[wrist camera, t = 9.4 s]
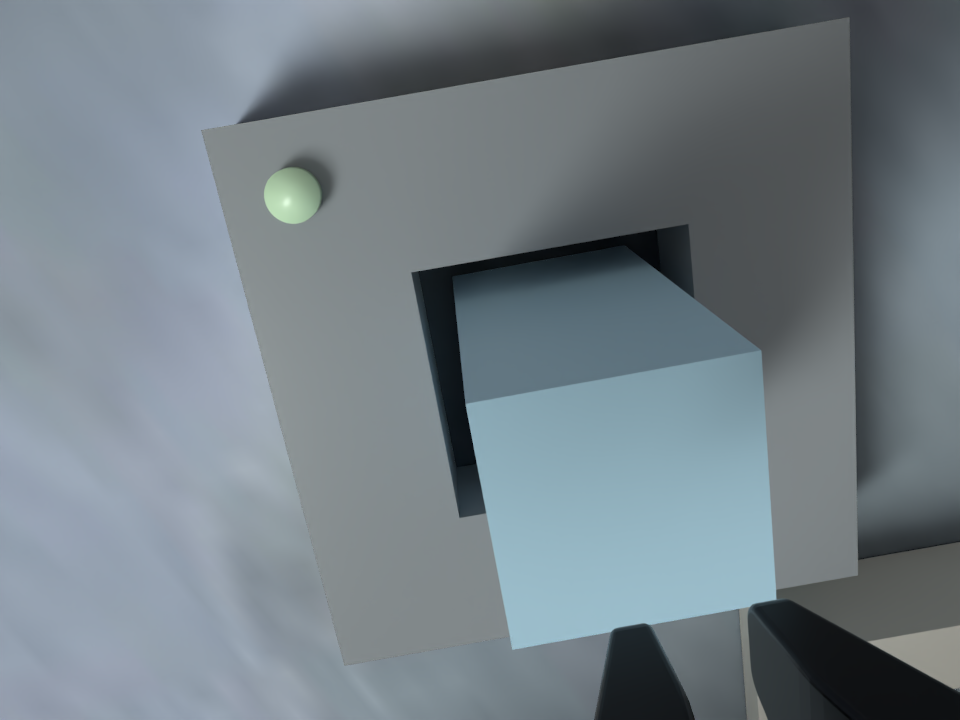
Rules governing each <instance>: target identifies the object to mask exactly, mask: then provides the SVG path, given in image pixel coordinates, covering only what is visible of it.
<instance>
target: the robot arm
mask: <svg viewBox="0 0 960 720" xmlns="http://www.w3.org/2000/svg"><path fill="white" fill-rule="evenodd" d="M747 621H748V636H749V650H750V664H751V673H752V678H753V682H754V686H755V689H756V692H757V694H758V697H759V699H760V702H761V704H762V707H763V709H764V712H765V714H766V716H767V719H768V720H960V692H958V691H956V690H954V689H953V688H951V687H949V686H947V685H945V684H944V683H942V682H940V681H938V680H936V679H934V678H933V677H931V676H929V675H927V674H925V673H923V672H922V671H920V670H918V669H916V668H914V667H913V666H911V665H909V664H907V663H905V662H903V661H902V660H900V659H898V658H896V657H894V656H893V655H891V654H889V653H887V652H885V651H883V650H882V649H880V648H878V647H876V646H874V645H873V644H871V643H869V642H867V641H865V640H863V639H862V638H860V637H858V636H856V635H854V634H853V633H851V632H849V631H847V630H845V629H843V628H842V627H840V626H838V625H836V624H834V623H833V622H831V621H829V620H827V619H825V618H823V617H822V616H820V615H818V614H816V613H814V612H812V611H811V610H809V609H807V608H805V607H803V606H802V605H800V604H798V603H796V602H794V601H792V600H790V599H777V600H771V601H766V602H760V603H755V604H752V605H751V606H750V608H749V610H748V614H747ZM594 720H695V718H694V715H693V712H692V709H691V706H690V703H689V700H688V698H687V696H686V694H685V692H684V689H683V687H682V685H681V683H680V681H679V679H678V677H677V675H676V673H675V671H674V669H673V667H672V666H671V664H670V662H669V660H668V658H667V656H666V654H665V652H664V650H663V648H662V646H661V644H660V642H659V640H658V638H657V636H656V634H655V632H654V630H653V628H652V627H651V626H650V625H648V624H646V623H641V624H635V625H630V626H624V627H618V628H615V629H613V630H612V632H611V634H610V638H609V644H608V649H607V654H606V660H605V665H604V670H603V676H602V681H601V687H600V692H599V697H598V703H597V708H596V713H595V719H594Z"/></svg>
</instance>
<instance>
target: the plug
mask: <svg viewBox="0 0 960 720" xmlns="http://www.w3.org/2000/svg"><path fill="white" fill-rule="evenodd" d="M452 278H453V288H454V298H455V307H456V317H457V327H458V337H459V346H460V356H461V366H462V375H463V385H464V395H465V404H466V409H467V415H468V420H469V425H470V430H471V436H472V441H473V446H474V451H475V456H476V462H477V467H478V472H479V477H480V483H481V488H482V493H483V498H484V504H485V509H486V514H487V519H488V524H489V530H490V535H491V540H492V545H493V551H494V556H495V561H496V566H497V571H498V577H499V582H500V587H501V592H502V598H503V603H504V608H505V613H506V618H507V624H508V629H509V634H510V639H511V645H512V650H513V649H519V648H525V647H530V646H536V645H541V644H547V643H552V642H558V641H563V640H569V639H574V638H580V637H586V636H591V635H597V634H602V633H608V632H612V630H613V629H615V628H618V627H624V626H630V625H635V624H641V623H646V624H648V625H652V624H658V623H663V622H669V621H674V620H680V619H685V618H691V617H696V616H702V615H707V614H713V613H719V612H724V611H730V610H735V609H741V608H746V607H750V606H751V605H752V604H755V603H760V602H766V601H771V600H777V598H776V582H775V566H774V549H773V533H772V516H771V500H770V484H769V467H768V451H767V434H766V418H765V402H764V385H763V369H762V352H761V350H760V349H759V348H758V347H756V346H755V345H754V344H752V343H751V342H750V341H749V340H747V339H746V338H745V337H743V336H742V335H741V334H739V333H738V332H737V331H735V330H734V329H733V328H732V327H730V326H729V325H728V324H726V323H725V322H724V321H722V320H721V319H720V318H719V317H717V316H716V315H715V314H713V313H712V312H711V311H709V310H708V309H707V308H706V307H704V306H703V305H702V304H700V303H699V302H698V301H696V300H695V299H694V298H693V297H691V296H690V295H689V294H687V293H686V292H685V291H683V290H682V289H681V288H679V287H678V286H677V285H676V284H674V283H673V282H672V281H670V280H669V279H668V278H666V277H665V276H664V275H663V274H661V273H660V272H659V271H657V270H656V269H655V268H653V267H652V266H651V265H650V264H648V263H647V262H646V261H644V260H643V259H642V258H640V257H639V256H638V255H637V254H635V253H634V252H633V251H631V250H630V249H629V248H627V247H626V246H625V245H623V246H618V247H612V248H607V249H601V250H596V251H590V252H584V253H579V254H573V255H568V256H562V257H557V258H551V259H546V260H540V261H535V262H529V263H524V264H518V265H513V266H507V267H502V268H496V269H491V270H485V271H480V272H474V273H469V274H463V275H458V276H452Z"/></svg>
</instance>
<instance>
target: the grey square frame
mask: <svg viewBox="0 0 960 720" xmlns="http://www.w3.org/2000/svg"><path fill="white" fill-rule="evenodd" d="M776 598H777V599H790V600H792V601H794V602H796V603H798V604H800V605H802V606H803V607H805V608H807V609H809V610H811V611H812V612H814V613H816V614H818V615H820V616H822V617H823V618H825V619H827V620H829V621H831V622H833V623H834V624H836V625H838V626H840V627H842V628H843V629H845V630H847V631H849V632H851V633H853V634H854V635H856V636H858V637H860V638H862V639H863V640H865V641H867V642H869V643H871V644H873V645H874V646H876V647H878V648H880V649H882V650H883V651H885V652H887V653H889V654H891V655H893V656H894V657H896V658H898V659H900V660H902V661H903V662H905V663H907V664H909V665H911V666H913V667H914V668H916V669H918V670H920V671H922V672H923V673H925V674H927V675H929V676H931V677H933V678H934V679H936V680H938V681H940V682H942V683H944V684H945V685H947V686H949V687H951V688H953V689H956V688H960V542H957V543H951V544H946V545H940V546H934V547H928V548H923V549H917V550H911V551H906V552H900V553H894V554H889V555H883V556H877V557H872V558H866V559H860V560H858V575H857V576H851V577H846V578H840V579H834V580H829V581H823V582H817V583H812V584H806V585H800V586H795V587H789V588H783V589H778V590H776ZM749 608H750V607H746V608H741V609H739V616H740V630H741V644H742V658H743V671H744V685H745V699H746V713H747V720H768V719H767V716H766V714H765V712H764V709H763V707H762V704H761V702H760V699H759V697H758V694H757V692H756V689H755V686H754V682H753V678H752V673H751V664H750V650H749V636H748V621H747V614H748V610H749Z"/></svg>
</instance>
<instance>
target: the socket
mask: <svg viewBox="0 0 960 720" xmlns="http://www.w3.org/2000/svg"><path fill="white" fill-rule="evenodd" d="M201 131H202V135H203V138H204V142H205V146H206V150H207V153H208V157H209V161H210V165H211V168H212V172H213V176H214V180H215V183H216V187H217V191H218V194H219V198H220V202H221V206H222V209H223V213H224V217H225V221H226V224H227V228H228V232H229V236H230V239H231V243H232V247H233V251H234V254H235V258H236V262H237V266H238V269H239V273H240V277H241V280H242V284H243V288H244V292H245V295H246V299H247V303H248V307H249V310H250V314H251V318H252V322H253V325H254V329H255V333H256V337H257V340H258V344H259V348H260V351H261V355H262V359H263V363H264V366H265V370H266V374H267V378H268V381H269V385H270V389H271V393H272V396H273V400H274V404H275V408H276V411H277V415H278V419H279V423H280V426H281V430H282V434H283V437H284V441H285V445H286V449H287V452H288V456H289V460H290V464H291V467H292V471H293V475H294V479H295V482H296V486H297V490H298V494H299V497H300V501H301V505H302V508H303V512H304V516H305V520H306V523H307V527H308V531H309V535H310V538H311V542H312V546H313V550H314V553H315V557H316V561H317V565H318V568H319V572H320V576H321V579H322V583H323V587H324V591H325V594H326V598H327V602H328V606H329V609H330V613H331V617H332V621H333V624H334V628H335V632H336V636H337V639H338V643H339V647H340V651H341V654H342V658H343V662H344V665H345V666H346V665H352V664H357V663H363V662H369V661H374V660H380V659H386V658H391V657H397V656H403V655H408V654H414V653H420V652H425V651H431V650H437V649H442V648H448V647H454V646H459V645H465V644H471V643H476V642H482V641H488V640H494V639H499V638H505V637H510V634H509V629H508V624H507V618H506V613H505V608H504V603H503V598H502V592H501V587H500V582H499V577H498V571H497V566H496V561H495V556H494V551H493V545H492V540H491V535H490V530H489V524H488V519H487V514H486V509H485V504H484V498H483V493H482V488H481V483H480V477H479V472H478V467H477V464H473V465H468V466H462V467H456V463H455V458H454V453H453V448H452V443H451V438H450V432H449V427H448V422H447V417H446V412H445V407H444V401H443V396H442V391H441V386H440V381H439V376H438V370H437V365H436V360H435V355H434V350H433V345H432V340H431V334H430V329H429V324H428V319H427V314H426V309H425V303H424V298H423V293H422V288H421V283H420V278H419V273H418V271H423V270H428V269H434V268H440V267H445V266H451V265H457V264H463V263H468V262H474V261H480V260H485V259H491V258H497V257H502V256H508V255H514V254H520V253H525V252H531V251H537V250H542V249H548V248H554V247H560V246H565V245H571V244H577V243H582V242H588V241H594V240H599V239H605V238H611V237H617V236H622V235H628V234H634V233H639V232H645V231H651V230H657V238H658V248H659V259H660V269H661V274H663V275H664V276H665V277H666V278H668V279H669V280H670V281H672V282H673V283H674V284H676V285H677V286H678V287H679V288H681V289H682V290H683V291H685V292H686V293H687V294H689V295H690V296H691V297H693V298H694V299H695V300H696V301H698V302H699V303H700V304H702V305H703V306H704V307H706V308H707V309H708V310H709V311H711V312H712V313H713V314H715V315H716V316H717V317H719V318H720V319H721V320H722V321H724V322H725V323H726V324H728V325H729V326H730V327H732V328H733V329H734V330H735V331H737V332H738V333H739V334H741V335H742V336H743V337H745V338H746V339H747V340H749V341H750V342H751V343H752V344H754V345H755V346H756V347H758V348H759V349H760V350H761V352H762V369H763V385H764V402H765V418H766V434H767V451H768V467H769V484H770V500H771V516H772V533H773V549H774V566H775V582H776V590H778V589H783V588H789V587H795V586H800V585H806V584H812V583H817V582H823V581H829V580H834V579H840V578H846V577H851V576H857V575H858V535H857V470H856V404H855V338H854V272H853V206H852V140H851V74H850V17H847V18H841V19H835V20H830V21H824V22H818V23H812V24H807V25H801V26H795V27H790V28H784V29H778V30H772V31H767V32H761V33H755V34H750V35H744V36H738V37H732V38H727V39H721V40H715V41H710V42H704V43H698V44H692V45H687V46H681V47H675V48H669V49H664V50H658V51H652V52H647V53H641V54H635V55H629V56H624V57H618V58H612V59H607V60H601V61H595V62H589V63H584V64H578V65H572V66H567V67H561V68H555V69H549V70H544V71H538V72H532V73H527V74H521V75H515V76H509V77H504V78H498V79H492V80H487V81H481V82H475V83H469V84H464V85H458V86H452V87H447V88H441V89H435V90H429V91H424V92H418V93H412V94H407V95H401V96H395V97H389V98H384V99H378V100H372V101H366V102H361V103H355V104H349V105H344V106H338V107H332V108H326V109H321V110H315V111H309V112H304V113H298V114H292V115H286V116H281V117H275V118H269V119H264V120H258V121H252V122H246V123H241V124H235V125H229V126H224V127H218V128H212V129H206V130H201Z"/></svg>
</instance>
